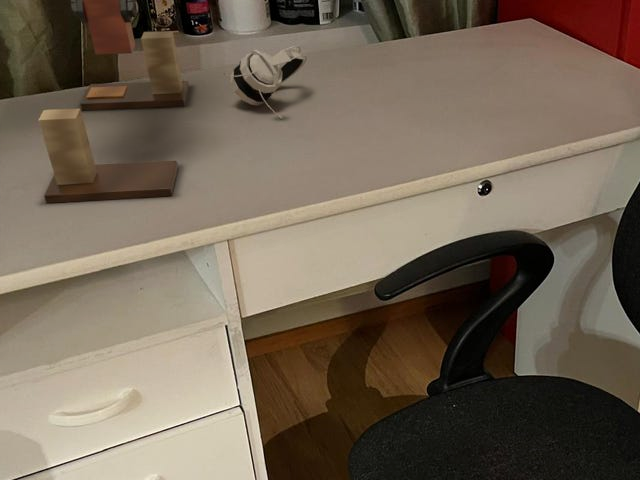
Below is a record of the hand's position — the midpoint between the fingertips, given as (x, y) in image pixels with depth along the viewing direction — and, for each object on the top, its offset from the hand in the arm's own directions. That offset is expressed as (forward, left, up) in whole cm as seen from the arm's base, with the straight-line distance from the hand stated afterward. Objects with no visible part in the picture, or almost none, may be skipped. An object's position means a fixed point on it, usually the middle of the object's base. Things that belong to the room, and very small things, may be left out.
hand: (105, 18), depth 97 cm
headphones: (+15, +18, -18) cm, 30 cm away
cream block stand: (-2, -4, -18) cm, 19 cm away
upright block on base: (-3, +25, -18) cm, 31 cm away
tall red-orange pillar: (0, +2, -4) cm, 4 cm away
